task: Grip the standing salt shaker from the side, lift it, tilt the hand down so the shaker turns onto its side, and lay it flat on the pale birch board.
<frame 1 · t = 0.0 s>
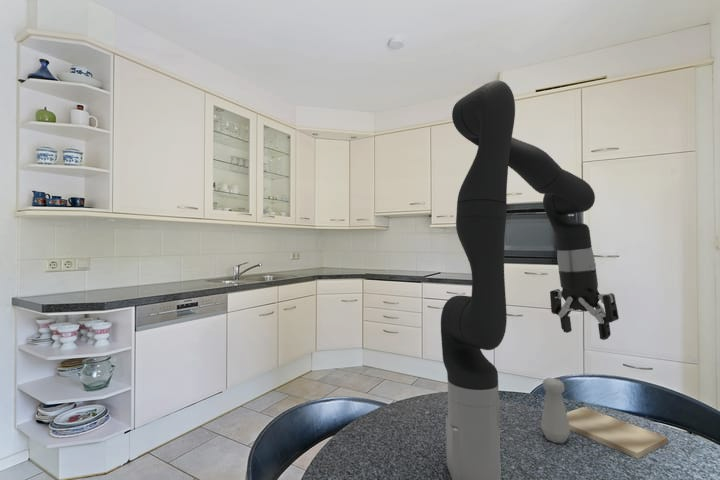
hand: (585, 335, 82), 22 cm above the table, tool pointing down, fingers open, 8 cm apart
salt shaker: (555, 439, 78), on the table
birch board: (606, 432, 81), on the table
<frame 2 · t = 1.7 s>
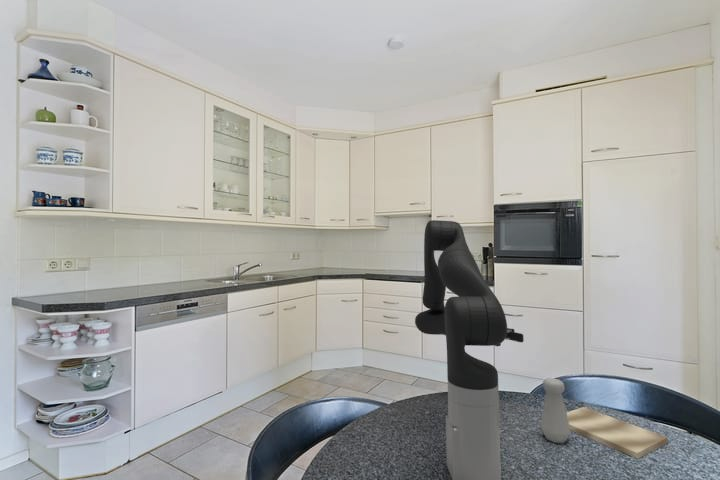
hand: (511, 340, 89), 20 cm above the table, tool horizontal, fingers open, 8 cm apart
nothing on the table moved.
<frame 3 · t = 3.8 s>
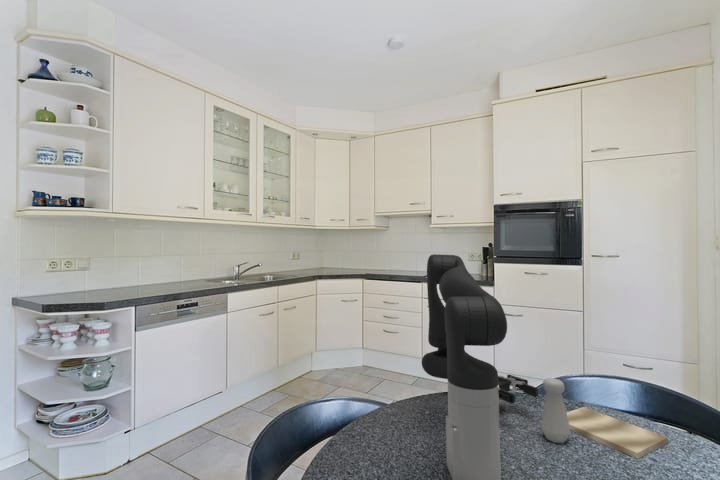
hand: (526, 395, 85), 7 cm above the table, tool horizontal, fingers open, 8 cm apart
nothing on the table moved.
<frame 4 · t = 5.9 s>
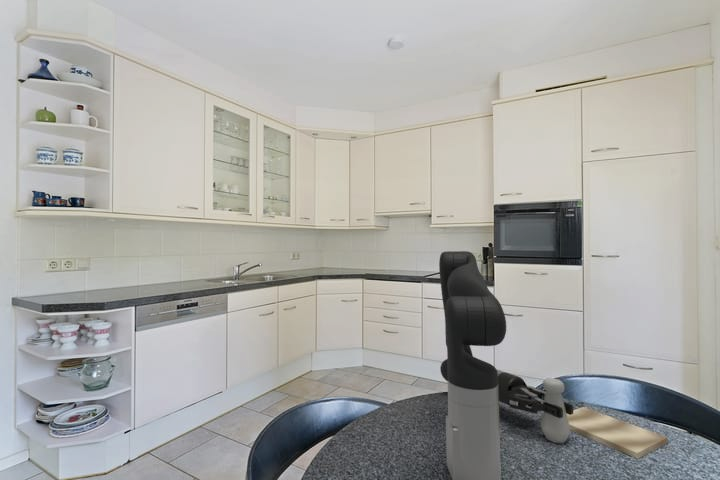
hand: (566, 411, 76), 7 cm above the table, tool horizontal, fingers closed on salt shaker, 3 cm apart
salt shaker: (555, 439, 78), on the table, touching gripper
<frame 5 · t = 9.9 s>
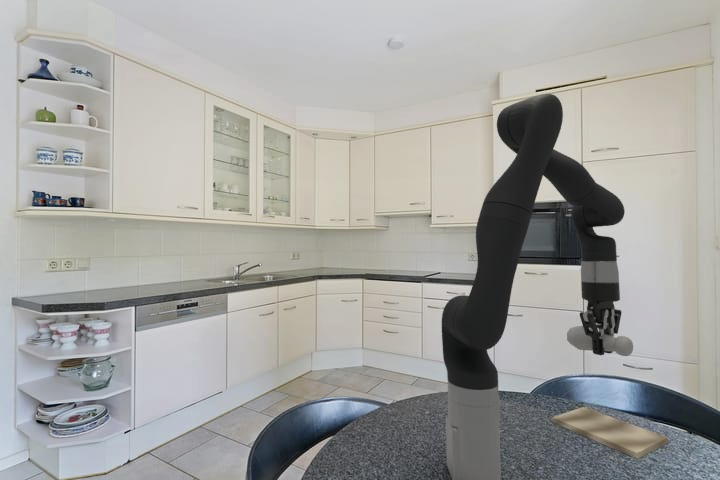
hand: (602, 353, 82), 18 cm above the table, tool pointing down, fingers closed on salt shaker, 3 cm apart
salt shaker: (570, 335, 89), point 21 cm above the table, touching gripper
when the fingers open (3 cm above the table, at t = 12.0 s): salt shaker stays where it is, resting on birch board.
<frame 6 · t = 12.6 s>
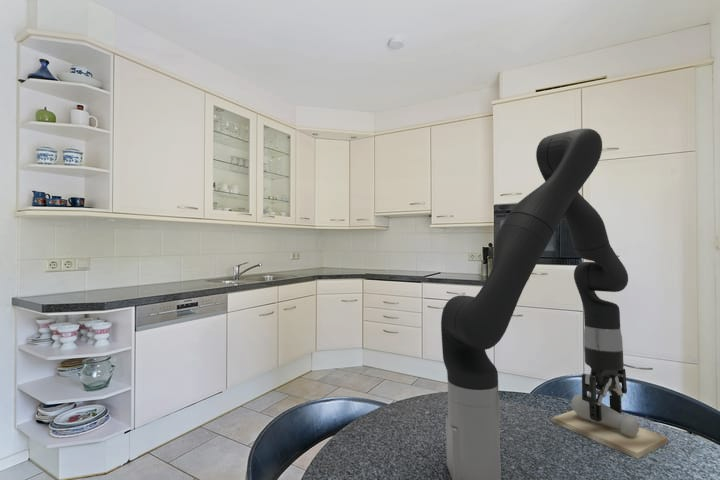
hand: (606, 416, 81), 4 cm above the table, tool pointing down, fingers open, 8 cm apart
salt shaker: (575, 402, 87), point 4 cm above the table, touching birch board
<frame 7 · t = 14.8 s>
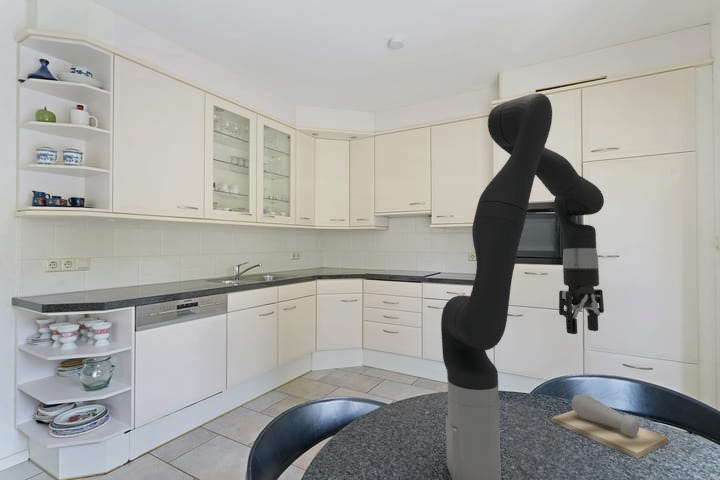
hand: (582, 332, 86), 22 cm above the table, tool pointing down, fingers open, 8 cm apart
nothing on the table moved.
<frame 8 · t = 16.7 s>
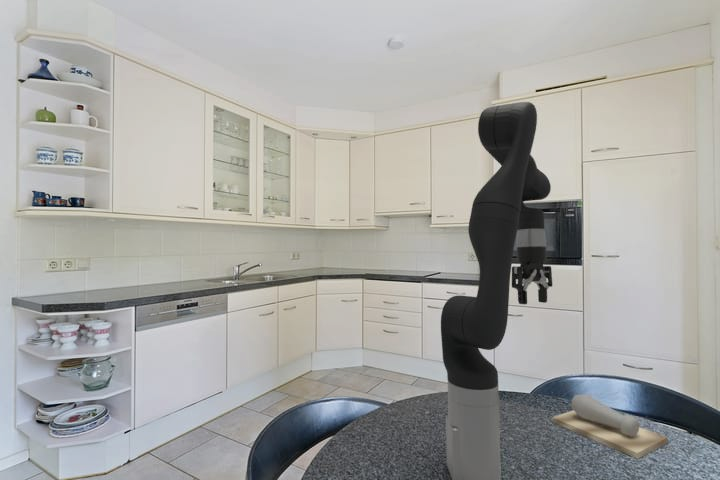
hand: (533, 303, 97), 28 cm above the table, tool pointing down, fingers open, 8 cm apart
nothing on the table moved.
at the end: salt shaker tilted 95°; salt shaker touching birch board; salt shaker 7.1 cm from the birch board (horizontally) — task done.
